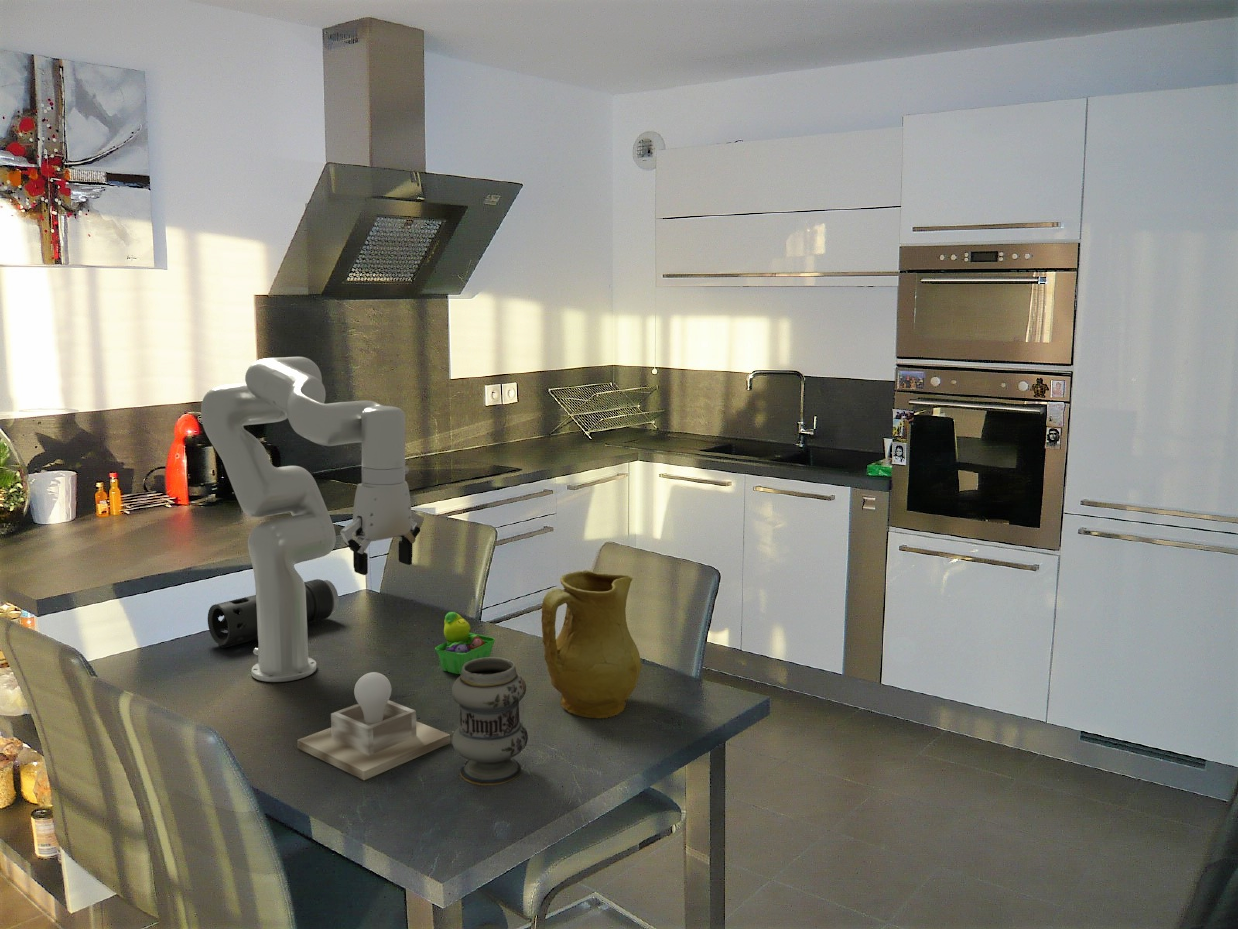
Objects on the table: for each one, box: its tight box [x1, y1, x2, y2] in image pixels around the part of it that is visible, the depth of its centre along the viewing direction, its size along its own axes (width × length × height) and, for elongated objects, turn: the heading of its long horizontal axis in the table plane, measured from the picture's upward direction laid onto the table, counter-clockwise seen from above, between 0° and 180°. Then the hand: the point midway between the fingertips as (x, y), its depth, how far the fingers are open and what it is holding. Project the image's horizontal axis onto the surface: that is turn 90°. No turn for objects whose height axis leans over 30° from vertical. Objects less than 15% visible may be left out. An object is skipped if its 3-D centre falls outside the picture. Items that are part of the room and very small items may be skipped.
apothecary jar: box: [451, 656, 529, 786], centre depth 162 cm, size 12×12×18 cm
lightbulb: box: [353, 671, 392, 726], centre depth 171 cm, size 6×6×11 cm
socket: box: [297, 699, 451, 781], centre depth 172 cm, size 18×18×6 cm
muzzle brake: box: [207, 579, 340, 649], centre depth 229 cm, size 10×28×10 cm, turn 141°
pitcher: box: [540, 569, 642, 719], centre depth 188 cm, size 17×19×25 cm
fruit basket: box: [435, 611, 496, 676], centre depth 210 cm, size 11×9×11 cm
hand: (383, 568), depth 184 cm, fingers open, 9 cm apart
